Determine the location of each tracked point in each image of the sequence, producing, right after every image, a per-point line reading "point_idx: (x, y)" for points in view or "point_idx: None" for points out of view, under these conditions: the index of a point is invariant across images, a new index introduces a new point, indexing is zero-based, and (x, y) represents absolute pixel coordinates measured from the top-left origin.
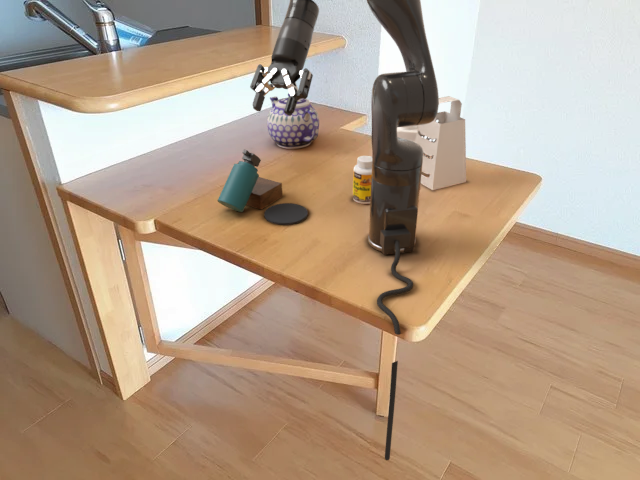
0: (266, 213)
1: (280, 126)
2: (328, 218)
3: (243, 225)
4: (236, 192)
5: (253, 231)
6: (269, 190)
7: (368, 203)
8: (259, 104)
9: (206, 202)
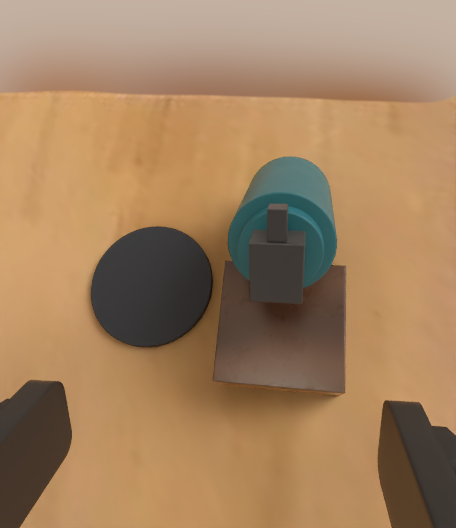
0: (197, 253)
1: None
2: (38, 323)
3: (223, 185)
4: (258, 175)
5: (184, 175)
6: (220, 308)
7: None
8: (393, 476)
9: (413, 234)
